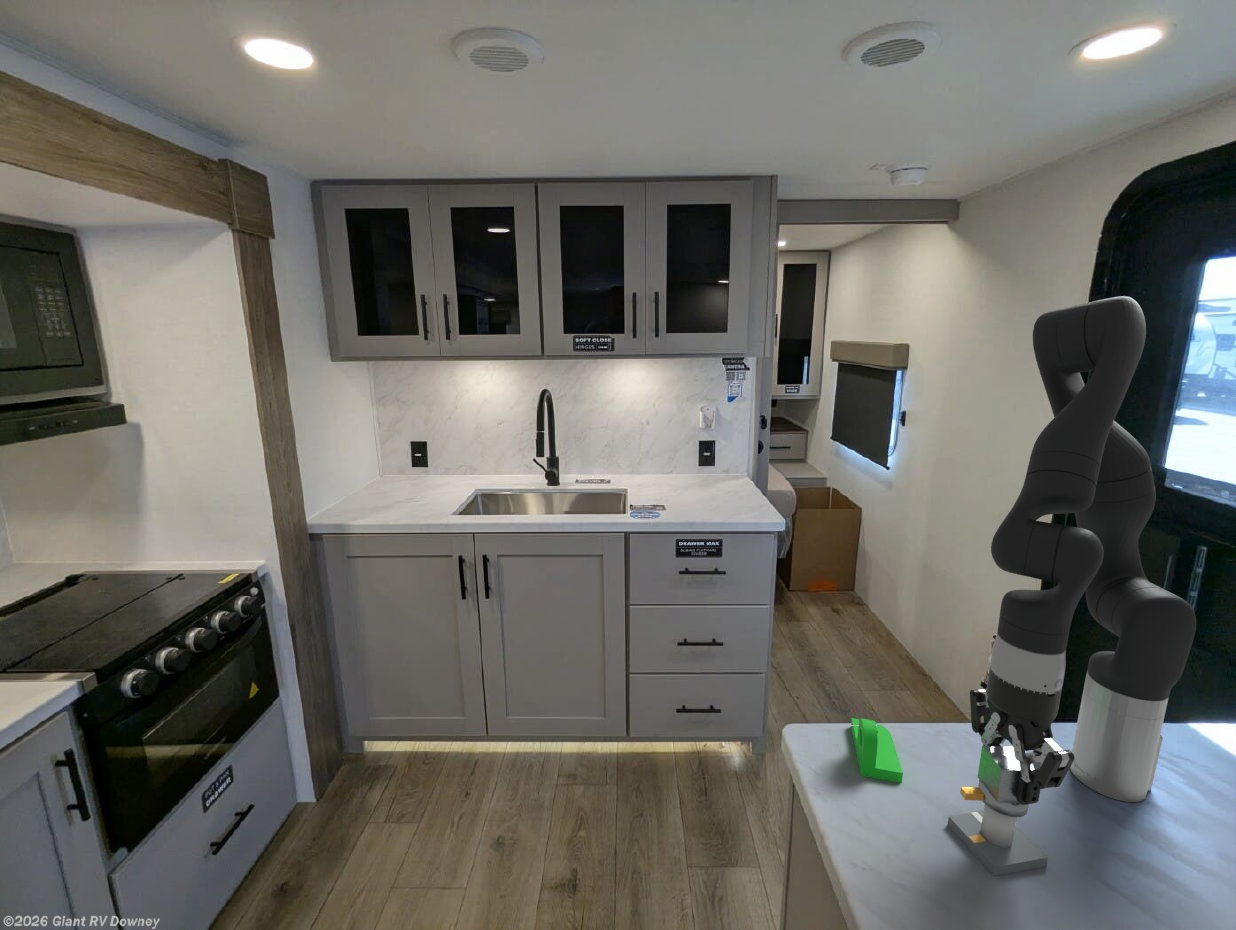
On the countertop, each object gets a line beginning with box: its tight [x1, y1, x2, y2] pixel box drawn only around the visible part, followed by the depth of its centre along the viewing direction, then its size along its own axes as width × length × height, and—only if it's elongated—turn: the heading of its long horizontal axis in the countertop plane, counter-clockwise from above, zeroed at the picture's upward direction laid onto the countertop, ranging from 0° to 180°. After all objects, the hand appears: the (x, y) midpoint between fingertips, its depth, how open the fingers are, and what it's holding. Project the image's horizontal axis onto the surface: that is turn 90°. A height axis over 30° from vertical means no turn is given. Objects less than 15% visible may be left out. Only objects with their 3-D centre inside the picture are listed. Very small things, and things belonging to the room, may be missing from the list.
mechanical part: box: [850, 717, 904, 784], centre depth 92 cm, size 12×6×8 cm, turn 164°
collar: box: [959, 745, 1034, 818], centre depth 73 cm, size 6×8×7 cm
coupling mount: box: [947, 803, 1049, 877], centre depth 75 cm, size 8×8×7 cm
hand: (1007, 784), depth 73 cm, fingers closed on collar, 5 cm apart
